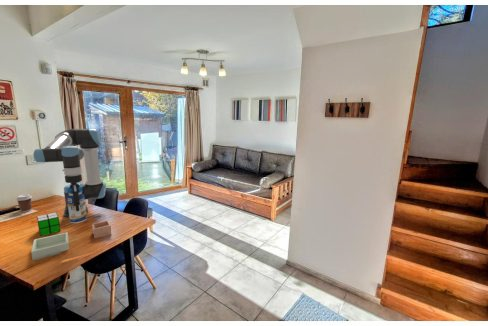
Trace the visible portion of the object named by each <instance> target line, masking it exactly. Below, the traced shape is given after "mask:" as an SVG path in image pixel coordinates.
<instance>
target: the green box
mask: <svg viewBox="0 0 488 326" xmlns="http://www.w3.org/2000/svg"><path fill="white" fill-rule="evenodd" d="M68 233H69V232H62V233H59V234H58V233H57V234H53V235H49V236H45V237H44V236H43V237H40V238H35V239H34V240H33V242H32V247H31V258H32V261H37V260H41V259H45V258H49V257H52V256H57V255H59V254H63V252H65V251H69V250H70V246H69V245H70V239H69V234H68Z"/></svg>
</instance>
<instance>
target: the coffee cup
mask: <svg viewBox="0 0 488 326" xmlns="http://www.w3.org/2000/svg"><path fill="white" fill-rule="evenodd" d="M32 198H33V196H32V195H30V194H28V193H25V194H20V195H18V196H17V198H16V199H15V201H17V204H18V208H19V211H20V213H21V212H22V213H26V212H29V211H32V210H33V209H32Z"/></svg>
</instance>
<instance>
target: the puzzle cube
mask: <svg viewBox="0 0 488 326" xmlns="http://www.w3.org/2000/svg"><path fill="white" fill-rule="evenodd" d="M36 220H37V227H38V233H39V236H40V237H44V236H47V235H51V234H54V233H55V234H56V233H59V232H61V225H60V218H59V215H58V213H57V212H52V213H48V214H42V215H37V216H36Z"/></svg>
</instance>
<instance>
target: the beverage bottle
mask: <svg viewBox="0 0 488 326" xmlns="http://www.w3.org/2000/svg"><path fill="white" fill-rule="evenodd" d="M71 190H72V189H71V188H70V187H68V188H67V191H68V194H69V196H68V197H67V201H68V203H67V206H68V211H69V217H68V218H69V222H70V224H79V223H82V222H85V221H86V220H87V219H88V215H87V214H88V213H86V206H87V204H86V203H87V202H86V200H84V199H85V196H84V195H83V194H82V193H81V192H82V186H80V185H79V188H78V190H79V202H80V209H81V216H78V217H75V210H74V206H73V205H74V199H73V194H72V192H71ZM72 191H73V190H72Z"/></svg>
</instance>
